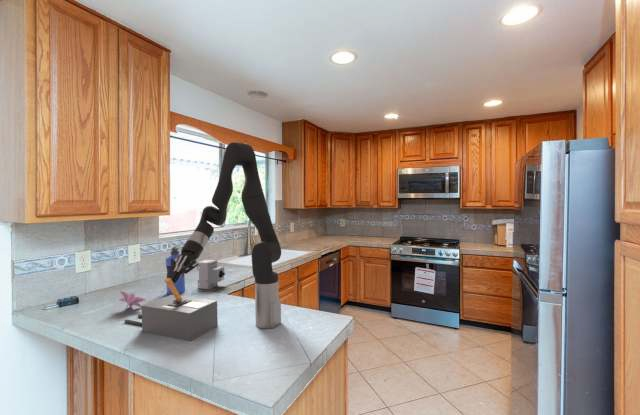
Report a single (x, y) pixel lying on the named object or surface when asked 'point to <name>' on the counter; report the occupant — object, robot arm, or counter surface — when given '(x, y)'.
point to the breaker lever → (173, 289)
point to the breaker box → (178, 317)
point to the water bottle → (181, 281)
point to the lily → (131, 299)
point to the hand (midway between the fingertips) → (172, 281)
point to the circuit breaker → (209, 274)
